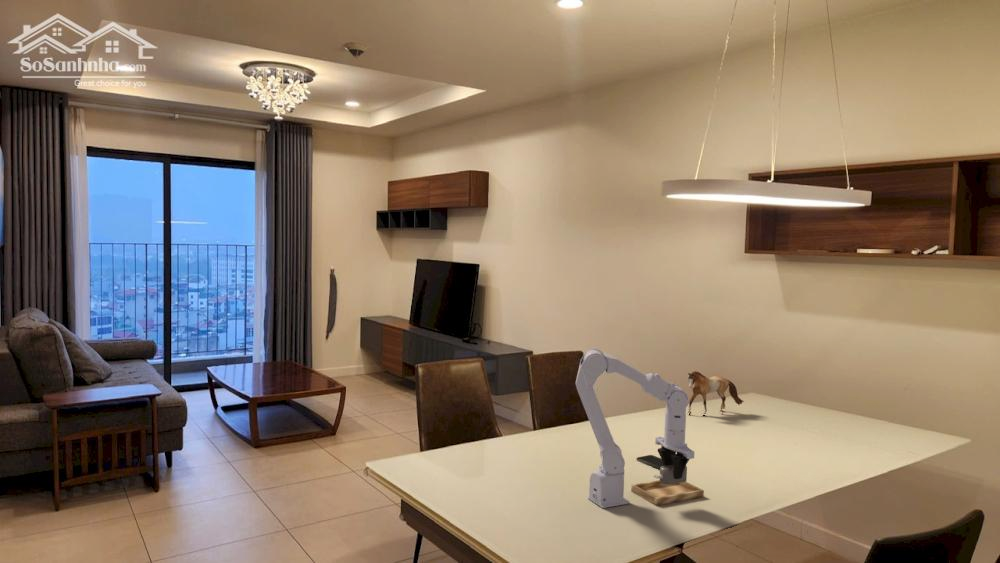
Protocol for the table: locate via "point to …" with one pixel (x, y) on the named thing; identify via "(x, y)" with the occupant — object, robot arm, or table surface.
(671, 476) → the grey rounded long block
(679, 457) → the robot arm
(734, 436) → the table surface
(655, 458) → the phone
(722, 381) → the horse figurine
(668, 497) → the oak tray
